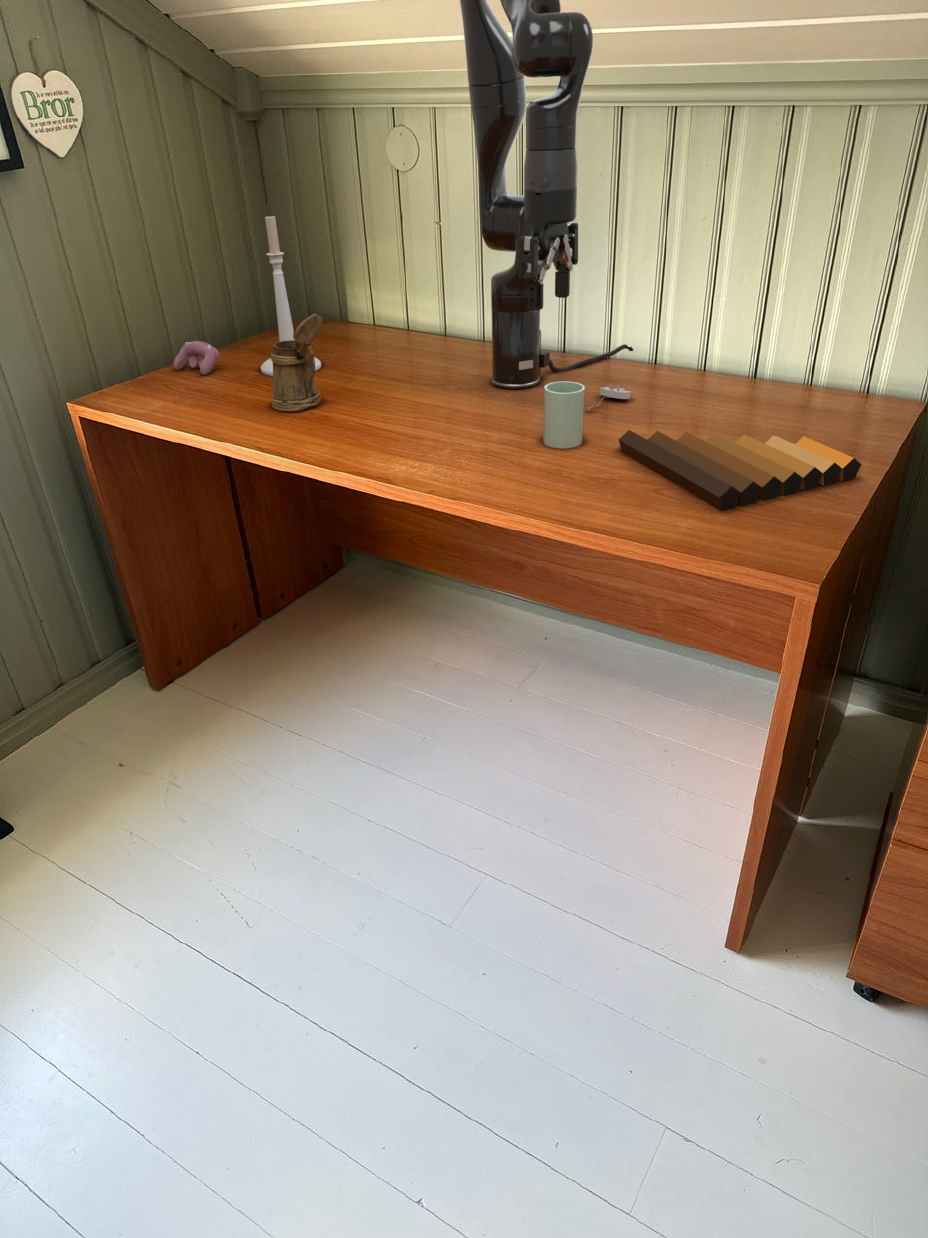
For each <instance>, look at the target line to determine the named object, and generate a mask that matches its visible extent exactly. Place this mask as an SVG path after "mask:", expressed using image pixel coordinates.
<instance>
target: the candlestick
mask: <svg viewBox="0 0 928 1238" xmlns="http://www.w3.org/2000/svg"><path fill="white" fill-rule="evenodd" d="M276 220H277V219H276V216H274V215H273V216H272V215H271V214H269V215H268V216H265V217H264V221H265V229H266V234H267V242H268V248H269V249H268V250H269V252H267V253H266V254H265V255H266V256H267V257H268V258H269V264H271V267H272V269H273V271H272V277H273V286H274V287H273V288H274V297H275V308H276V318H277V330H278V338H279V341H278V342H281V341H288V340H294V338H293V334H294V330H295V329H294V326H293V321H292V313H291V310H290V304H289V299H288V293H287V289H286V283H285V278H284V272H283V270H282V266H283V265H282V264H283V263H284V259H283V256H284V255H285V252H284V251H281V249H280V242H279V235H278V227H277V221H276ZM314 358H315V372H316V371H318V370H320V369H321V367H322V362H321V361H320V360H319V358H317V357H315V356H314ZM260 372H261V373H262V374H264V375H265V376H269V377H270V376H271V377H273V362H272V361H271V357H270V358H268V359H267V360H265V361H264V362H263V363H262V364H261V366H260Z"/></svg>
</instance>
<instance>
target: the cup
mask: <svg viewBox="0 0 928 1238" xmlns="http://www.w3.org/2000/svg"><path fill="white" fill-rule="evenodd" d="M585 395H586V386H585V385H583V384H582V383H579V382H575V381H570V380H569V381H566V380H565V381H564V380H563V381H562V380H561V381H553V382H549V383H547V384H545V385H544V387H543V411H542V412H543V414H542V415H543V416H542V419H543V420H542V442H543V444H544V445H545V446H547V447H548V448H549V447H550V448H554V449H572V448H576V447H579V446H581V445H582V443H583V437H584V420H585V418H584V417H585V400H586V399H585Z"/></svg>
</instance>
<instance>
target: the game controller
mask: <svg viewBox="0 0 928 1238" xmlns="http://www.w3.org/2000/svg"><path fill="white" fill-rule="evenodd" d="M616 387H617V388H612V384H611V385H609V386H601V387H600V390H599V395H600V396H603V397H602V398H601V399H600V401H599V403H598V404H597V405H596V406H595V405H594V407H598V406H599V405H600V404H601V403H602V400H603V399H604V398H606V399H607V398H613V399H621V400H629V399H631V394H632V391H629V390H625V388H620V385H619V384H618V385H617V386H616ZM591 408H592V406H590V407H589V408H588V411H587V412H588V413H590V409H591Z"/></svg>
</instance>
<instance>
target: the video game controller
mask: <svg viewBox="0 0 928 1238" xmlns="http://www.w3.org/2000/svg"><path fill="white" fill-rule="evenodd" d="M219 356H220V354H219V350H218V349H217V348H216V347H214V346H213V345H211V344H210V343H208V342H206V341H201V340H193V341H190V342H189V341H186V342H185V343H184V344H183V345H182V347H181V348H180V350H179V352H178V354H177V355H176V356H175V358H174V360H173V363H172V365H173V369H174V370H175V371H179V370H180V371H181V370H182V369H183V368H184V367H185V366H187V364H188V365H189V367H190V368H193V369H199V372H200V374H201V375H203V376H206V375H208V374H210V373H211V372H212V370H213V369H214V367H215V366H216V364H217V363H216V362H217V361H218V359H219ZM200 357H202V358H201V359H200Z"/></svg>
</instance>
